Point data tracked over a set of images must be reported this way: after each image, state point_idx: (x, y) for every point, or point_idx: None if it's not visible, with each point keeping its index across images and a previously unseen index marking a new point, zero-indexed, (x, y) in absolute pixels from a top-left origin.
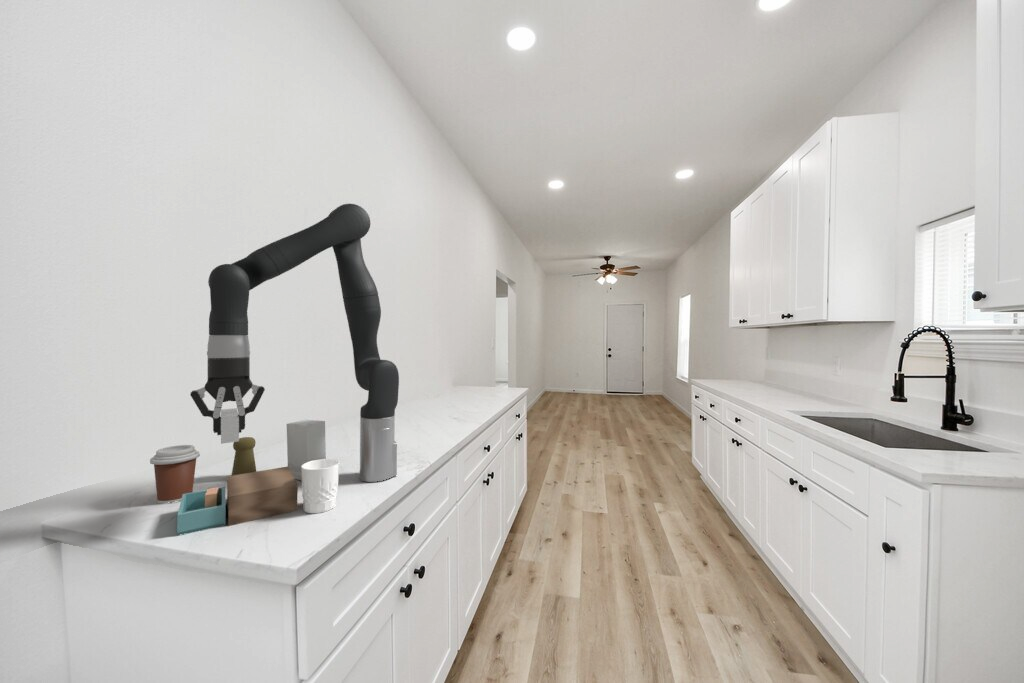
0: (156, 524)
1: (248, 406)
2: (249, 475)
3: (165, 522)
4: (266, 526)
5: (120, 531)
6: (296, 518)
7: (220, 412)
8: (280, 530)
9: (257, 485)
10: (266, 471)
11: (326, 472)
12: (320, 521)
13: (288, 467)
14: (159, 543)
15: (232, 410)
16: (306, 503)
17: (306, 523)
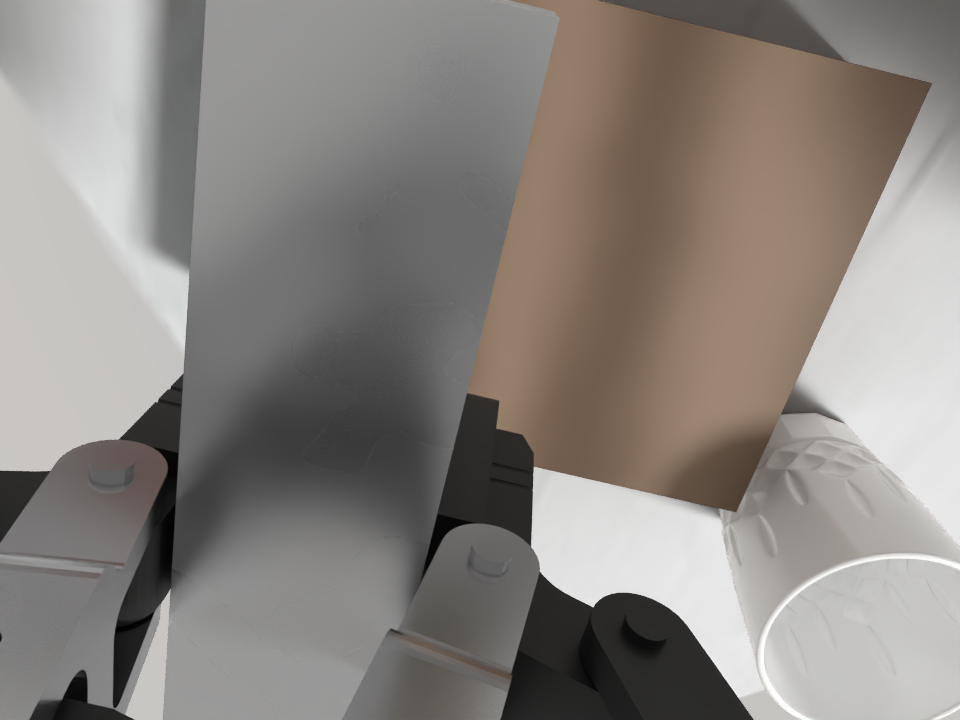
0: (155, 58)
1: (590, 688)
2: (616, 95)
3: (192, 65)
4: (534, 486)
5: (12, 15)
6: (653, 505)
7: (141, 668)
8: (557, 557)
9: (568, 373)
10: (747, 90)
11: (834, 709)
12: (700, 598)
13: (912, 120)
14: (180, 323)
15: (396, 318)
16: (721, 517)
17: (654, 575)
